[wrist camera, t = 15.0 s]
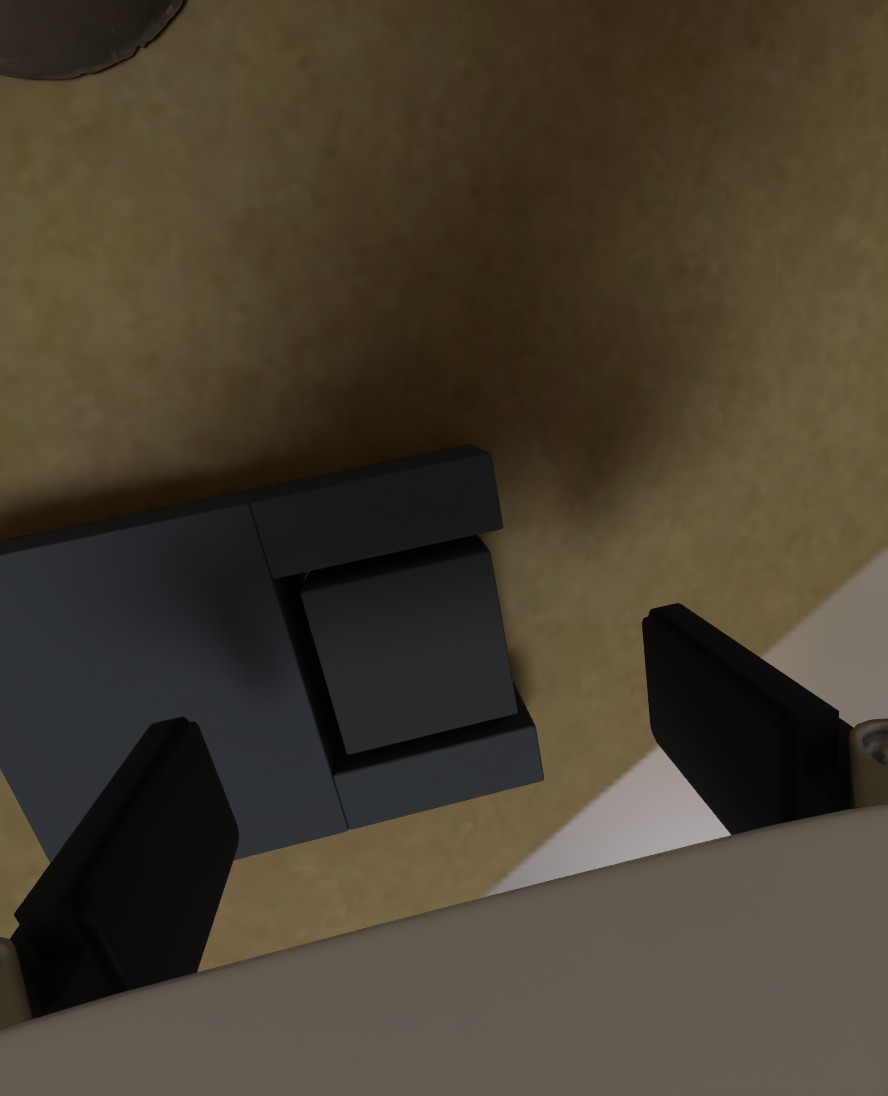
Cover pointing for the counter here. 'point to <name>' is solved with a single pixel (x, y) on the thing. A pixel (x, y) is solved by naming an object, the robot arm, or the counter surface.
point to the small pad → (411, 642)
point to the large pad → (233, 653)
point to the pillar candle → (75, 34)
